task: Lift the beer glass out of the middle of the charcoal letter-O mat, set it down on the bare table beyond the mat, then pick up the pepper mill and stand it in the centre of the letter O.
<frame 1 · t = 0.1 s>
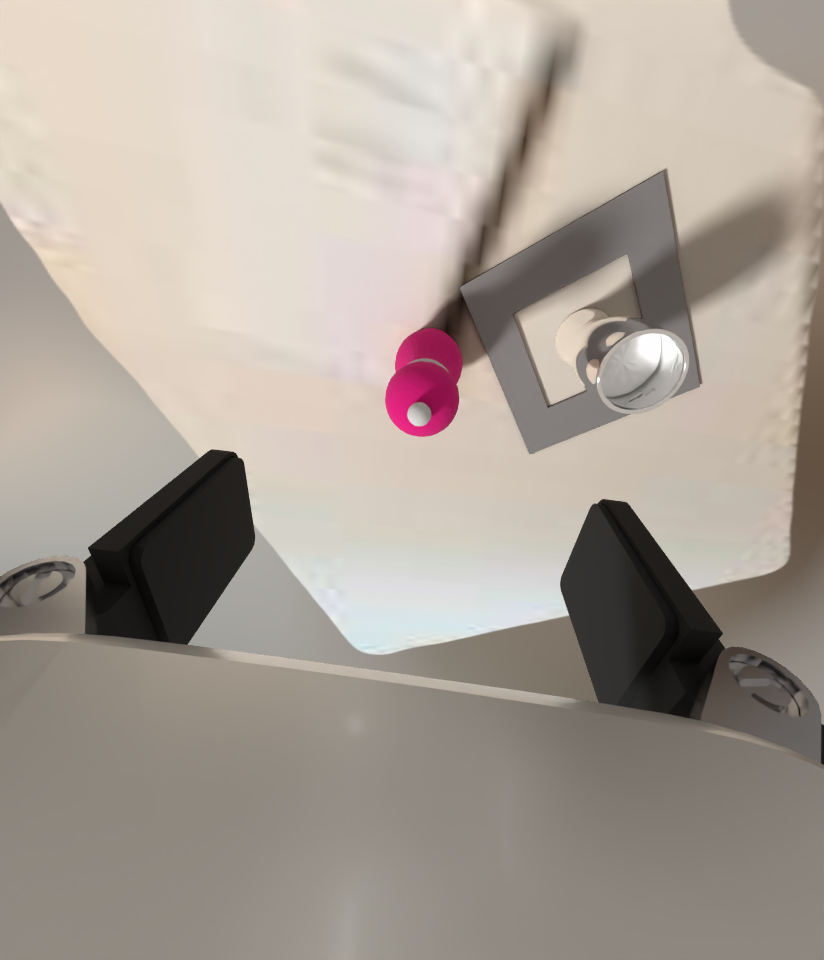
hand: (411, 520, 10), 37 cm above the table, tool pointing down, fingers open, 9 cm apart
letter o mat: (583, 338, 42), on the table
beer glass: (582, 337, 42), resting in letter o mat
pepper mill: (430, 355, 44), on the table
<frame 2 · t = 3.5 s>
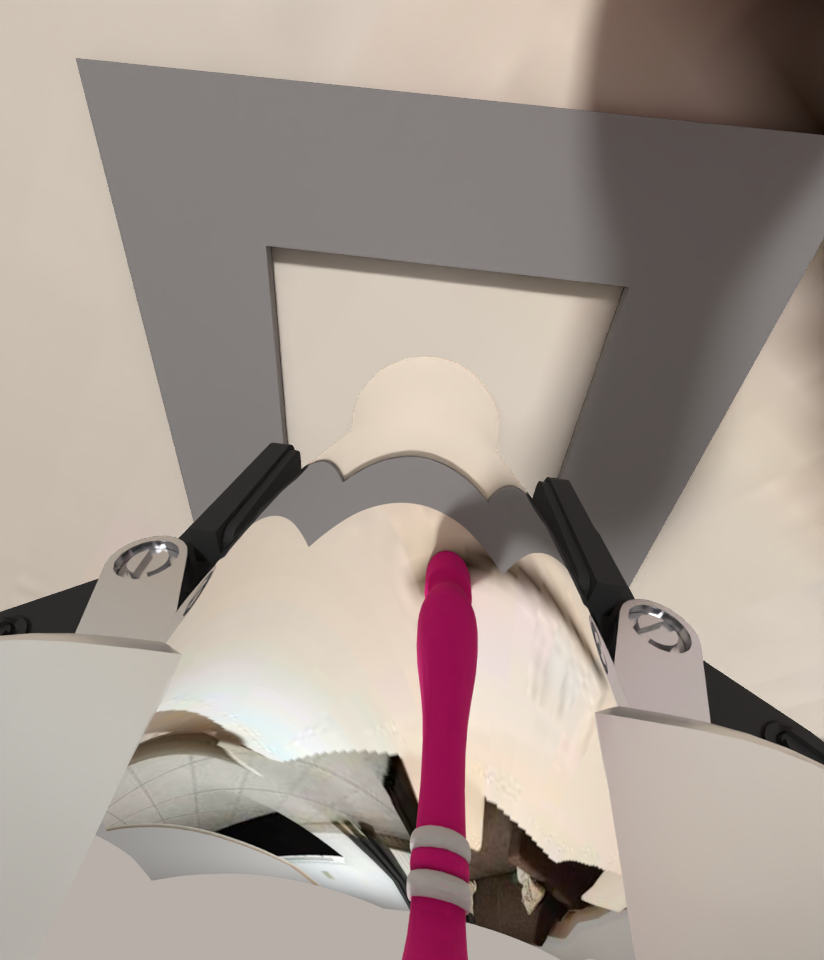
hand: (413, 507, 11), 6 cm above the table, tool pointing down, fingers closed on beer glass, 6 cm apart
letter o mat: (425, 429, 16), on the table
beer glass: (425, 427, 16), resting in letter o mat, touching gripper
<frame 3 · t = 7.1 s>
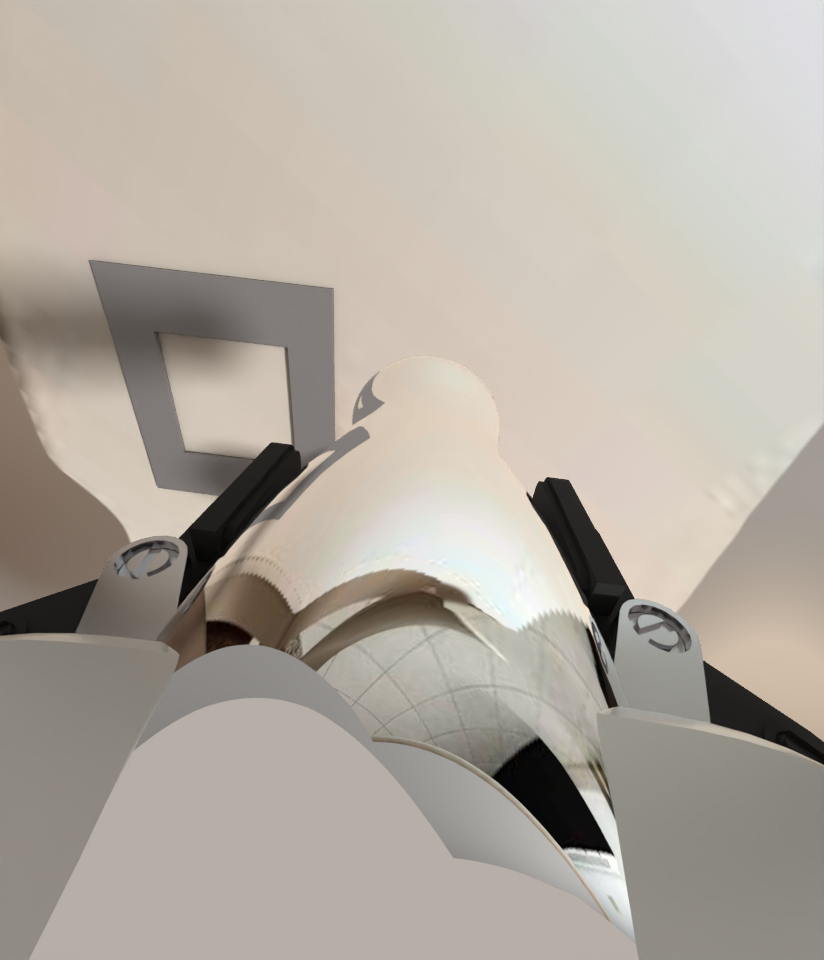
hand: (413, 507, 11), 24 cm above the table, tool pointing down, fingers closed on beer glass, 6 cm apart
letter o mat: (232, 403, 36), on the table
beer glass: (425, 427, 16), point 19 cm above the table, touching gripper
when the fingers open (7 cm above the table, at t = 10.9 s): beer glass drops 1 cm, on the table.
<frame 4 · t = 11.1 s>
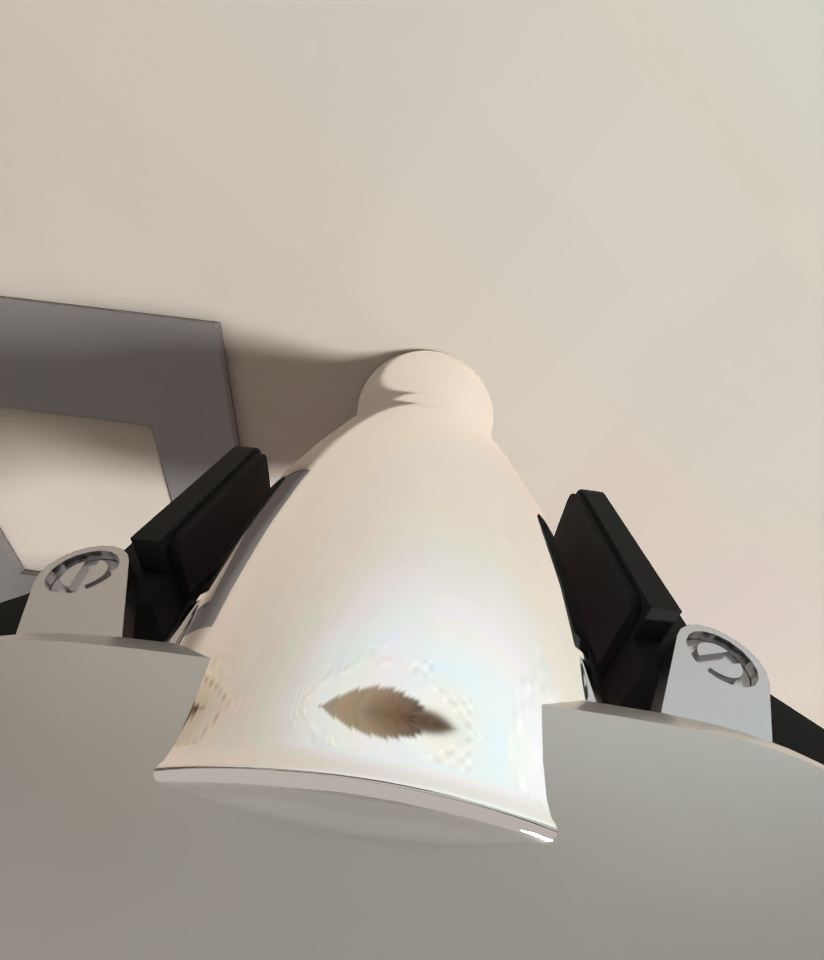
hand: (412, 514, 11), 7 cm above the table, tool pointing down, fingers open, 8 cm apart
letter o mat: (80, 507, 21), on the table
beer glass: (424, 417, 17), on the table
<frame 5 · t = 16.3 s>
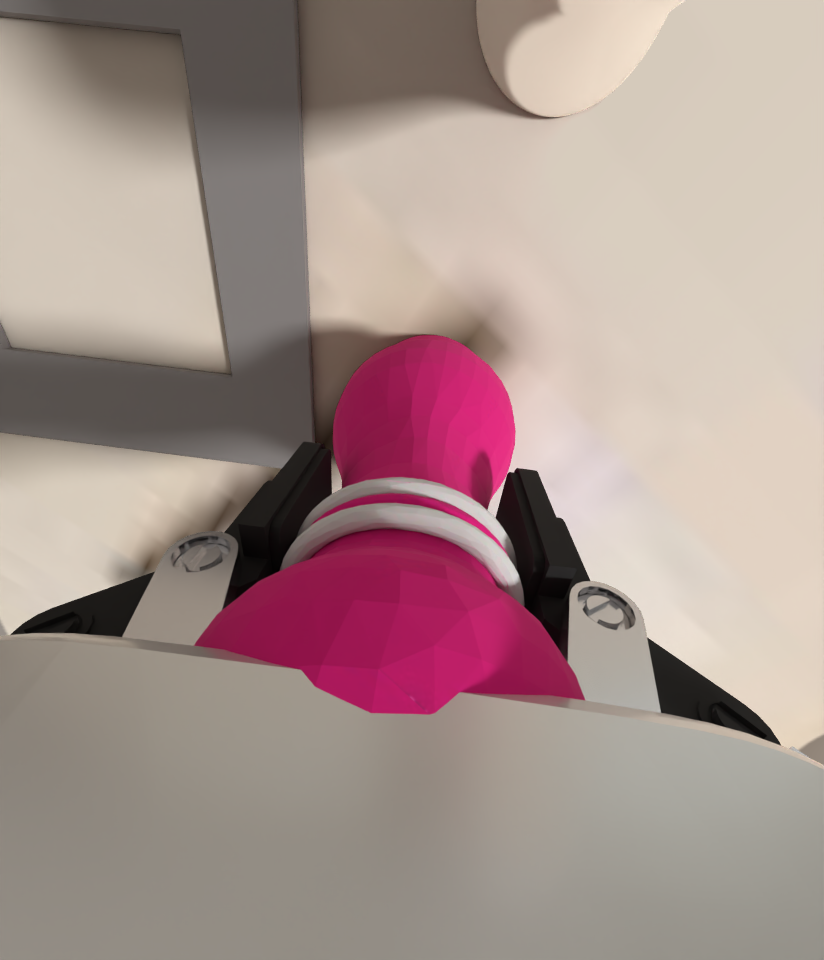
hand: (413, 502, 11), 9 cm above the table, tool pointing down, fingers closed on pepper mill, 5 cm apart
letter o mat: (81, 222, 16), on the table
pepper mill: (428, 397, 19), on the table, touching gripper
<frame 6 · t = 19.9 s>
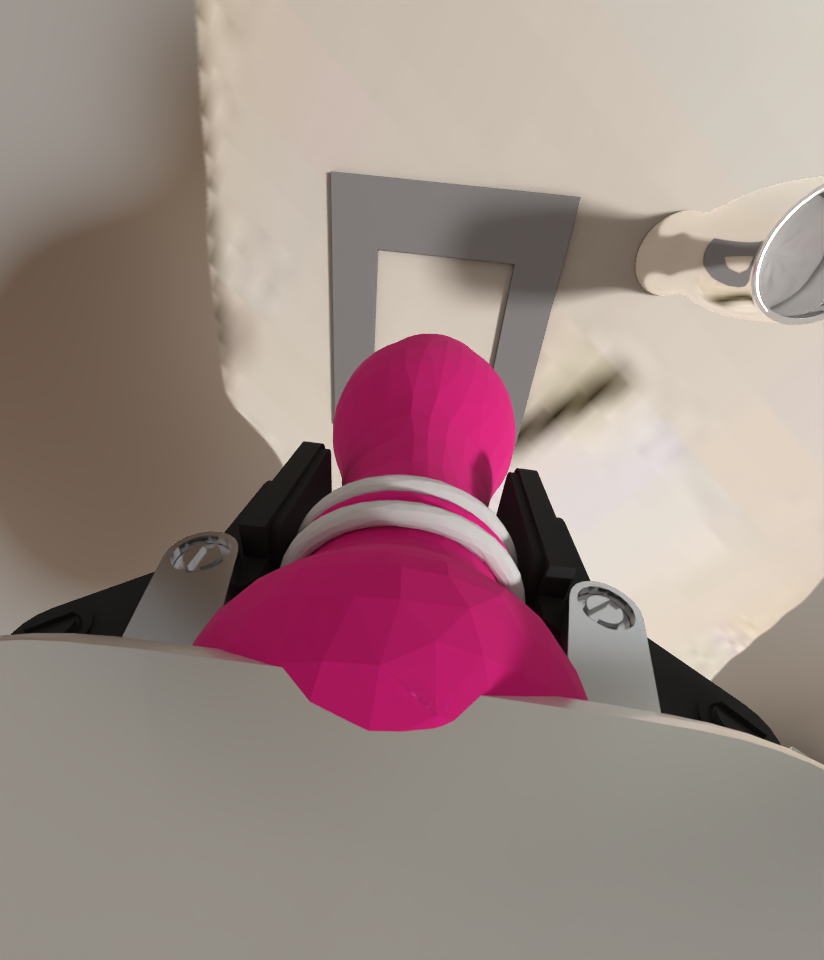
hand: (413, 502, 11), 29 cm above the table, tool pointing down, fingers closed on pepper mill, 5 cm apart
letter o mat: (437, 329, 36), on the table
beer glass: (672, 255, 32), on the table
pepper mill: (429, 396, 19), point 20 cm above the table, touching gripper
when the fingers open (11 cm above the table, at t = 23.9 s): pepper mill drops 1 cm, resting in letter o mat.
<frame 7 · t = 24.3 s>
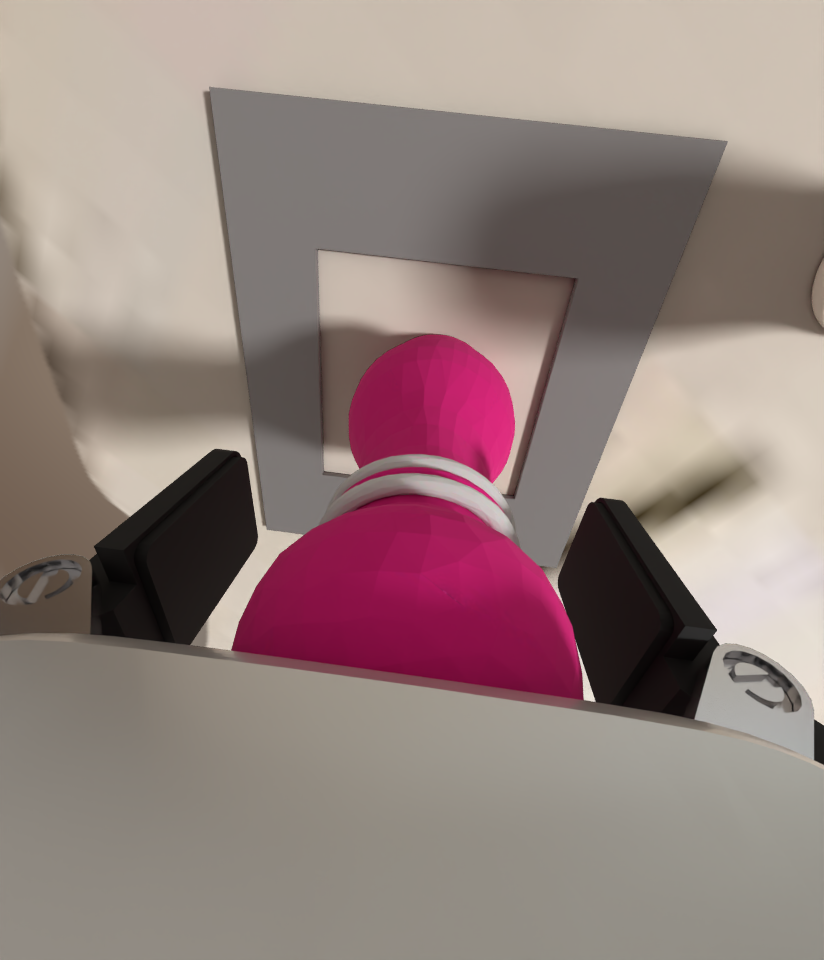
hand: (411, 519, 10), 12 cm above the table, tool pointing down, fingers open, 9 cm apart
letter o mat: (429, 390, 20), on the table
pepper mill: (434, 392, 21), resting in letter o mat
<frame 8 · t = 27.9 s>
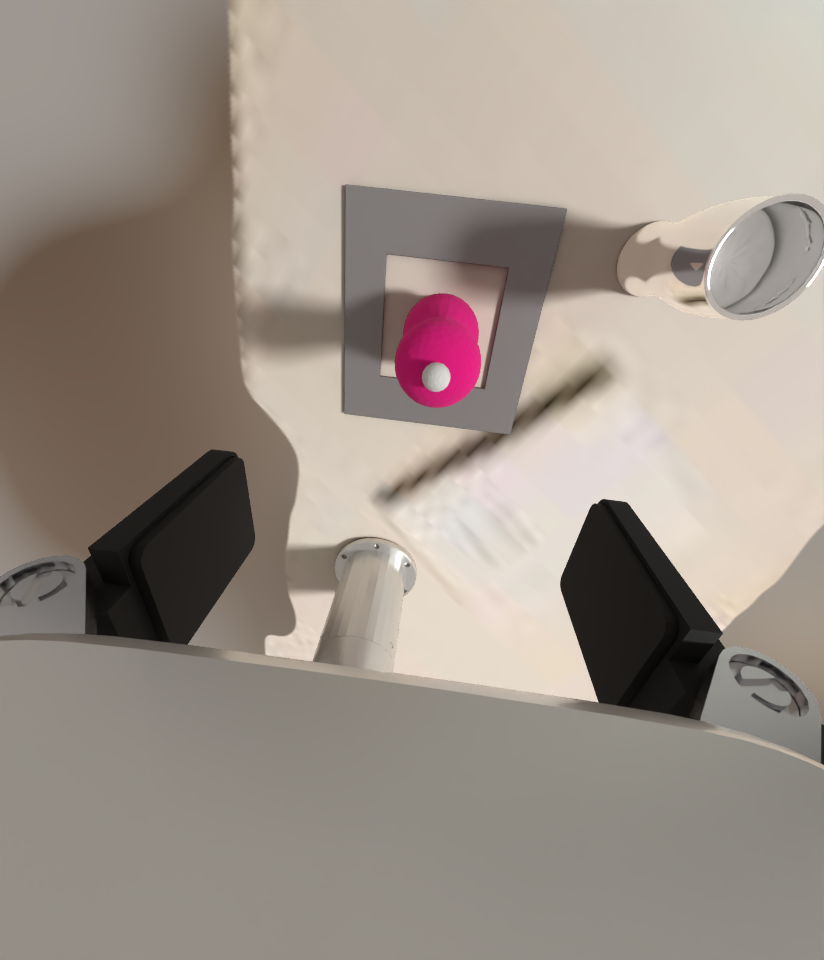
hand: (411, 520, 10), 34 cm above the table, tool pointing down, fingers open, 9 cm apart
letter o mat: (439, 325, 40), on the table
beer glass: (649, 260, 35), on the table
pepper mill: (441, 327, 40), resting in letter o mat
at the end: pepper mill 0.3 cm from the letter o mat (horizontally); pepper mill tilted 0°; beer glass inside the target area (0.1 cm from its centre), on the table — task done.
